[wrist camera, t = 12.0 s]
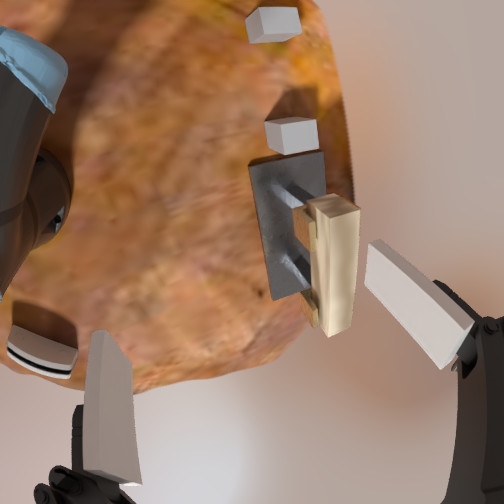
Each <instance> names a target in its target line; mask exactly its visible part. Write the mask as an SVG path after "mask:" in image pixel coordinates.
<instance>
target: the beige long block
mask: <svg viewBox="0 0 504 504" xmlns="http://www.w3.org/2000/svg"><path fill="white" fill-rule="evenodd" d="M306 203H307V215H308V216H309V217H311V218H312V219H313V220H314V221H315V229H316V249H317V251H315V252H312V253H310V261H311V283H312V301H313V303H314V304H315V306H316V307H317V308H318V323H319V325H320V326H321V328H322V329H323V331H324V332H325V334H326V335H327V337H330V336H333V335H335V334H337V333H339V332H341V331H344V330H346V329H348V328H350V326H351V319H352V311H353V303H354V294H355V284H356V273H357V261H358V246H359V245H358V244H359V225H360V209H358V208H357V207H355V206H354V205H352V204H350V203H349V202H347V201H346V200H344V199H343V198H341V197H339V196H338V195H336V194H335V193H333V194H329V195H325V196H321V197H317V198H314V199H310V200H306Z"/></svg>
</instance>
